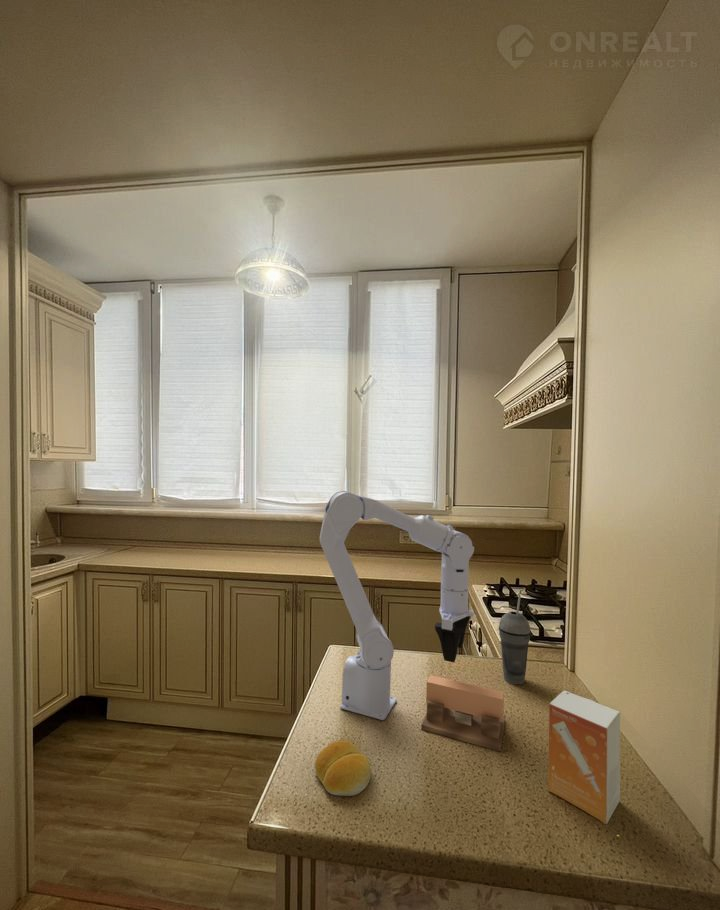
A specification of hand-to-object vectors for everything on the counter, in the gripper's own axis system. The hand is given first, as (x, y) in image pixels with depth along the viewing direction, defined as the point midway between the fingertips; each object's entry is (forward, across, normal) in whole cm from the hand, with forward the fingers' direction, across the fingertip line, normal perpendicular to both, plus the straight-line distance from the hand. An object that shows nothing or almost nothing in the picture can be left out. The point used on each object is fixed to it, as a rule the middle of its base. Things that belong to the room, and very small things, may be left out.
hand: (453, 653), depth 85 cm
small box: (+10, -16, -23) cm, 30 cm away
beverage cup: (+10, +16, -11) cm, 22 cm away
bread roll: (+10, -29, +11) cm, 33 cm away
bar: (+7, -7, -4) cm, 10 cm away
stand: (+10, -7, -4) cm, 13 cm away
